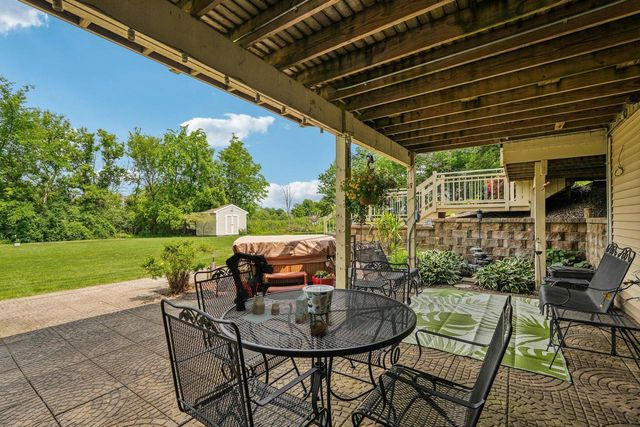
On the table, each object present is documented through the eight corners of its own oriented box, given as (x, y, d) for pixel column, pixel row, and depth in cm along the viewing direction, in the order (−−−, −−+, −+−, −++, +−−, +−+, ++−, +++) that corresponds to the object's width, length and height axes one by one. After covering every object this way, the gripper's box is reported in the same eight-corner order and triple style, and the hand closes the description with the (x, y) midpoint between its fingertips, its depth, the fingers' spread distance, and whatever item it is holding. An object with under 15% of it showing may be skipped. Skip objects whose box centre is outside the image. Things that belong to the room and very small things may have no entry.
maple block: (253, 304, 199) (253, 297, 200) (258, 303, 204) (258, 296, 204) (258, 306, 197) (258, 298, 197) (263, 304, 201) (263, 297, 201)
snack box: (303, 324, 183) (303, 300, 184) (294, 323, 184) (295, 299, 185) (311, 313, 204) (311, 292, 204) (303, 313, 205) (303, 291, 206)
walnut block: (252, 313, 199) (252, 304, 199) (258, 311, 204) (258, 302, 204) (258, 315, 196) (258, 306, 196) (264, 313, 201) (264, 304, 201)
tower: (271, 314, 197) (271, 303, 198) (275, 313, 201) (275, 302, 201) (275, 315, 195) (275, 304, 195) (279, 314, 198) (279, 303, 199)
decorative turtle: (313, 339, 159) (313, 324, 160) (307, 331, 174) (306, 317, 174) (330, 337, 162) (329, 322, 163) (322, 329, 176) (321, 315, 177)
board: (238, 319, 191) (238, 317, 191) (262, 310, 209) (262, 309, 209) (257, 325, 180) (257, 323, 180) (281, 315, 199) (281, 314, 199)
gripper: (240, 273, 200) (240, 296, 199) (260, 276, 189) (259, 300, 189) (253, 271, 209) (252, 292, 208) (272, 273, 198) (271, 297, 198)
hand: (258, 295), depth 201 cm, fingers open, 9 cm apart
